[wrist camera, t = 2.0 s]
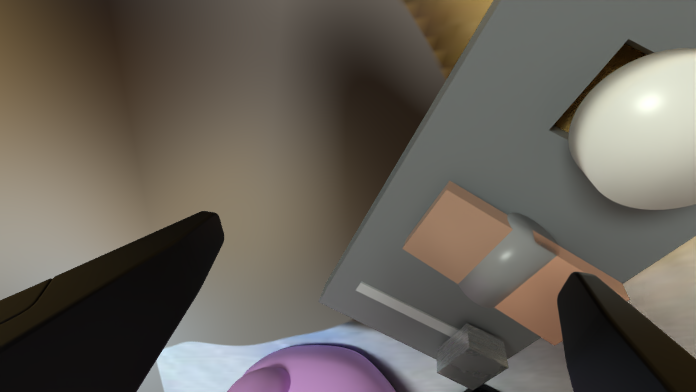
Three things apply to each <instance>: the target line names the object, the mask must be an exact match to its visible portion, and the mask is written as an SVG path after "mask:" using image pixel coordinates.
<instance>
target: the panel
mask: <svg viewBox="0 0 696 392" xmlns="http://www.w3.org/2000/svg"><path fill="white" fill-rule="evenodd" d="M624 43H626V44H627V45H629V46H631V47H633V48H635V49H637V50H639V51H641V52H643V53H645V54H647V55H649V54H652V53H656V52H660V51H664V50H671V49H680V48H693V49H696V0H494V1H493V2H492V4H491V6H490V7H489V9H488V11H487V12H486V14H485V16H484V17H483V19H482V21H481V22H480V24H479V26H478V28H477V29H476V31H475V33H474V34H473V36H472V38H471V39H470V41H469V43H468V44H467V46H466V48H465V49H464V51H463V53H462V55H461V56H460V58H459V60H458V61H457V63H456V65H455V66H454V68H453V70H452V71H451V73H450V75H449V76H448V78H447V80H446V82H445V83H444V85H443V87H442V88H441V90H440V92H439V93H438V95H437V97H436V98H435V100H434V102H433V104H432V105H431V107H430V109H429V110H428V112H427V114H426V115H425V117H424V119H423V121H422V122H421V124H420V126H419V127H418V129H417V131H416V132H415V134H414V136H413V138H412V139H411V141H410V142H409V144H408V146H407V147H406V149H405V151H404V152H403V154H402V156H401V158H400V159H399V161H398V163H397V164H396V166H395V168H394V169H393V171H392V173H391V174H390V176H389V178H388V180H387V181H386V183H385V185H384V186H383V188H382V190H381V191H380V193H379V195H378V197H377V198H376V200H375V201H374V203H373V205H372V206H371V208H370V210H369V212H368V213H367V215H366V217H365V218H364V220H363V222H362V224H361V225H360V227H359V229H358V230H357V232H356V234H355V235H354V237H353V239H352V240H351V242H350V244H349V245H348V247H347V249H346V251H345V252H344V254H343V255H342V257H341V259H340V261H339V262H338V264H337V266H336V267H335V269H334V271H333V272H332V274H331V276H330V277H329V279H328V281H327V282H326V284H325V287H324V289H323V292H322V294H321V297H320V300H319V302H320V303H322V304H324V305H326V306H328V307H330V308H332V309H334V310H336V311H338V312H340V313H343V314H344V315H346V316H349V317H350V318H352V319H355V320H357V321H359V322H361V323H363V324H365V325H367V326H369V327H371V328H373V329H375V330H377V331H379V332H381V333H383V334H385V335H387V336H389V337H391V338H393V339H396V340H398V341H400V342H402V343H404V344H406V345H408V346H410V347H412V348H414V349H416V350H418V351H420V352H422V353H424V354H426V355H428V356H430V357H432V358H434V359H437V348H438V347H439V346H441V345H442V344H443V343H444V342H445V341H447V340H448V339H449V338H450V337H451V336H452V335H454V334H455V333H456V332H457V331H458V330H460V329H461V328H462V327H463V326H464V325H465V324H467V323H468V324H470V325H472V326H474V327H476V328H478V329H480V330H482V331H484V332H486V333H488V334H490V335H492V336H494V337H496V338H498V339H500V340H502V341H504V346H505V351H506V357H507V359H509V358H510V357H512V356H513V355H515V354H516V353H518V352H519V351H521V350H522V349H524V348H525V347H527V346H528V345H530V344H531V343H533V342H534V341H536V340H538V339H539V338H541V337H540V336H538V335H537V334H535V333H534V332H532V331H531V330H529V329H528V328H526V327H524V326H523V325H521V324H520V323H518V322H517V321H515V320H513V319H512V318H510V317H509V316H507V315H506V314H504V313H502V312H501V311H499V310H498V309H496V308H495V307H494V308H485V307H482V306H480V305H478V304H476V303H475V302H473V301H472V300H471V299H469V298H468V297H467V296H466V295H465V294H464V292H463V291H462V290H461V288H460V287H459V285H458V284H457V283H455V282H454V281H452V280H451V279H449V278H448V277H446V276H444V275H443V274H441V273H440V272H438V271H437V270H435V269H433V268H432V267H430V266H429V265H427V264H426V263H424V262H422V261H421V260H419V259H418V258H416V257H415V256H413V255H412V254H410V253H408V252H407V251H405V250H404V249H402V248H403V246H404V244H405V241H406V239H407V237H408V236H409V235H410V233H411V232H412V231H413V229H414V228H415V227H416V225H417V224H418V222H419V221H420V220H421V218H422V217H423V216H424V214H425V213H426V212H427V210H428V209H429V208H430V206H431V205H432V204H433V202H434V201H435V200H436V198H437V197H438V195H439V194H440V193H441V191H442V190H443V189H444V187H445V186H446V185H447V183H448V182H449V181H451V182H453V183H455V184H456V185H458V186H460V187H461V188H463V189H465V190H466V191H468V192H470V193H471V194H473V195H475V196H476V197H478V198H480V199H481V200H483V201H485V202H486V203H488V204H490V205H492V206H493V207H495V208H497V209H498V210H500V211H502V212H503V213H505V214H507V215H508V214H509V213H512V212H515V213H519V214H522V215H525V216H527V217H529V218H530V219H532V220H534V221H535V222H537V223H538V224H539V225H541V226H542V227H543V228H544V229H545V230H546V231H547V232H548V233H549V234H550V235H551V236H552V237H553V238H554V239H555V241H556V242H557V244H558V245H559V246H560V247H562V248H564V249H565V250H567V251H569V252H570V253H572V254H574V255H575V256H577V257H579V258H580V259H582V260H584V261H585V262H587V263H589V264H591V265H592V266H594V267H596V268H597V269H599V270H601V271H602V272H604V273H606V274H607V275H609V276H611V277H612V278H614V279H616V280H617V281H619V282H621V283H622V284H623V283H624V282H626V281H628V280H629V279H631V278H632V277H634V276H635V275H637V274H638V273H640V272H641V271H643V270H644V269H646V268H647V267H649V266H650V265H652V264H653V263H655V262H656V261H658V260H660V259H661V258H663V257H664V256H666V255H667V254H669V253H670V252H672V251H673V250H675V249H676V248H678V247H679V246H681V245H682V244H684V243H685V242H687V241H688V240H690V239H692V238H693V237H695V236H696V204H694V205H690V206H686V207H681V208H675V209H665V210H646V209H637V208H632V207H628V206H624V205H621V204H619V203H616V202H614V201H612V200H610V199H609V198H607V197H605V196H604V195H603V194H602V193H600V192H599V191H598V190H597V189H596V187H595V186H594V185H593V184H592V183H591V181H590V180H589V179H588V178H587V176H586V175H585V174H584V173H583V171H582V170H581V169H580V168H579V166H578V165H577V164H576V163H575V161H574V159H573V157H572V155H571V152H570V149H569V143H568V137H569V133H568V132H566V131H564V130H562V129H560V128H558V127H556V126H554V124H555V123H556V121H557V120H558V119H559V118H560V117H561V116H562V115H563V113H564V112H565V111H566V110H567V109H568V108H569V106H570V105H571V104H572V103H573V102H574V101H575V100H576V98H577V97H578V96H579V95H580V94H581V93H582V92H583V90H584V89H585V88H586V87H587V86H588V85H589V84H590V82H591V81H592V80H593V79H594V78H595V77H596V76H597V74H598V73H599V72H600V71H601V70H602V69H603V68H604V66H605V65H606V64H607V63H608V62H609V61H610V59H611V58H612V57H613V56H614V55H615V54H616V53H617V51H618V50H619V49H620V48H621V47H622V46H623V45H624Z"/></svg>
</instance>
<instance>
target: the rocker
mask: <svg viewBox="0 0 696 392" xmlns="http://www.w3.org/2000/svg"><path fill="white" fill-rule="evenodd" d="M402 249H404V250H405V251H407V252H408V253H410V254H412V255H413V256H415V257H416V258H418V259H419V260H421V261H422V262H424V263H426V264H427V265H429V266H430V267H432V268H433V269H435V270H437V271H438V272H440V273H441V274H443V275H444V276H446V277H448V278H449V279H451V280H452V281H454V282H455V283H457V284H458V285H459V287H460V288H461V290H462V291H463V292H464V294H465V295H466V296H467V297H468V298H469V299H471V300H472V301H473V302H475V303H476V304H478V305H480V306H482V307H485V308H494V307H495V308H496V309H498V310H499V311H501V312H502V313H504V314H506V315H507V316H509V317H510V318H512V319H513V320H515V321H517V322H518V323H520V324H521V325H523V326H524V327H526V328H528V329H529V330H531V331H532V332H534V333H535V334H537V335H538V336H540V337H542V338H543V339H545V340H546V341H548V342H549V343H551V344H553V345H554V346H555V345H557V344H558V343H560V342H562V341H563V339H562V332H561V326H560V319H559V313H558V306H557V297H558V294H559V292H560V290H561V288H562V287H563V285H564V284H565V282H566V280H567V279H568V277H569V275H570V274H571V273H573V272H583V273H589V274H593V275H596V276H597V277H598V278H600V279H601V280H602V281H603V282H604V283H606V284H607V285H608V286H609V287H610V288H612V289H613V290H614V291H615V292H616V293H617V294H619V295H620V296H621V297H622V298H623V299H625V300H626V301H628V300H630V299H629V297H628V295H627V293H626V291H625V289H624V287H623V284H622V283H621V282H619V281H617V280H616V279H614V278H612V277H611V276H609V275H607V274H606V273H604V272H602V271H601V270H599V269H597V268H596V267H594V266H592V265H591V264H589V263H587V262H585V261H584V260H582V259H580V258H579V257H577V256H575V255H574V254H572V253H570V252H569V251H567V250H565V249H564V248H562V247H560V246H559V245H558V244H557V242H556V241H555V239H554V238H553V237H552V236H551V235H550V234H549V233H548V232H547V231H546V230H545V229H544V228H543V227H542V226H541V225H539V224H538V223H537V222H535V221H534V220H532V219H530V218H529V217H527V216H525V215H522V214H519V213H515V212H512V213H509V214H508V215H507V214H505V213H503V212H502V211H500V210H498V209H497V208H495V207H493V206H492V205H490V204H488V203H486V202H485V201H483V200H481V199H480V198H478V197H476V196H475V195H473V194H471V193H470V192H468V191H466V190H465V189H463V188H461V187H460V186H458V185H456V184H455V183H453V182H451V181H449V182H448V183H447V185H446V186H445V187H444V189H443V190H442V191H441V193H440V194H439V195H438V197H437V198H436V200H435V201H434V202H433V204H432V205H431V206H430V208H429V209H428V210H427V212H426V213H425V214H424V216H423V217H422V218H421V220H420V221H419V222H418V224H417V225H416V227H415V228H414V229H413V231H412V232H411V233H410V235H409V236H408V237H407V239H406V241H405V244H404V246H403V248H402Z"/></svg>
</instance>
